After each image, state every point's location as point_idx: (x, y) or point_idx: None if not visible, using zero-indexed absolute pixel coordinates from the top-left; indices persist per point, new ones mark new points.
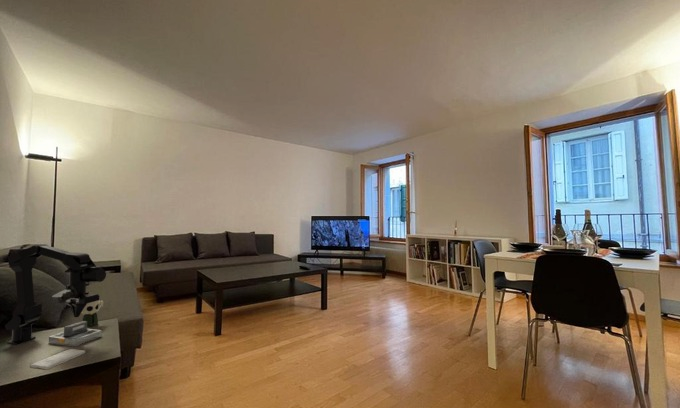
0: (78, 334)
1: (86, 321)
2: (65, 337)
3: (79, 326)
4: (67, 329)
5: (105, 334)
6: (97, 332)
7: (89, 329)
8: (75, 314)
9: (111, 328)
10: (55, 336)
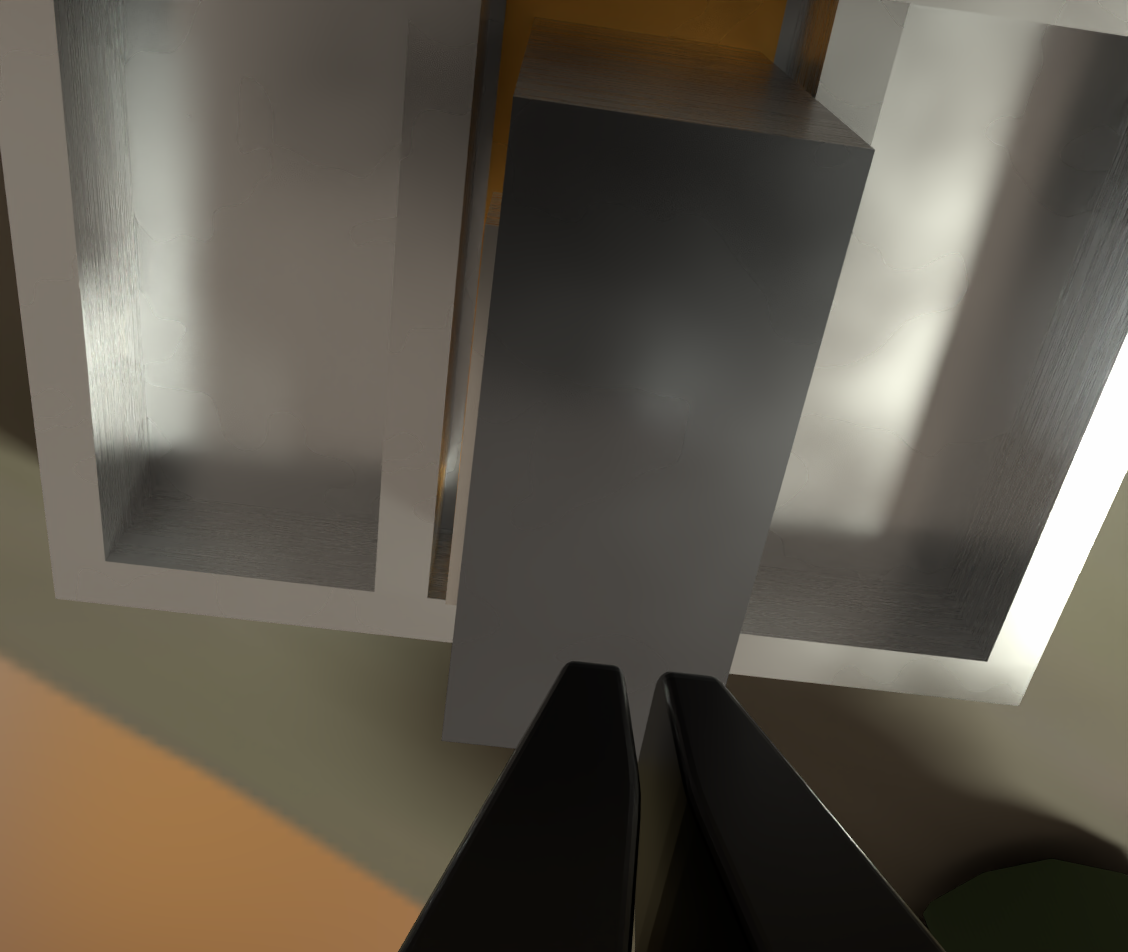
0: (413, 264)
1: (475, 741)
2: (695, 56)
3: (464, 450)
4: (624, 89)
5: None
6: (50, 486)
7: None
8: (584, 773)
9: (387, 857)
10: (1093, 28)
